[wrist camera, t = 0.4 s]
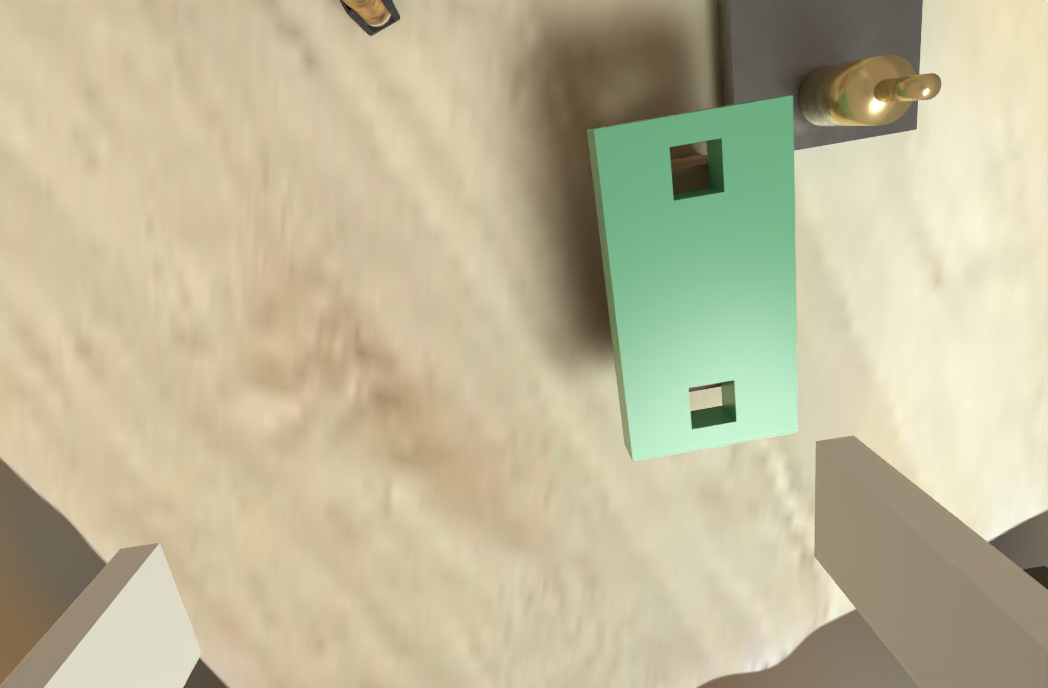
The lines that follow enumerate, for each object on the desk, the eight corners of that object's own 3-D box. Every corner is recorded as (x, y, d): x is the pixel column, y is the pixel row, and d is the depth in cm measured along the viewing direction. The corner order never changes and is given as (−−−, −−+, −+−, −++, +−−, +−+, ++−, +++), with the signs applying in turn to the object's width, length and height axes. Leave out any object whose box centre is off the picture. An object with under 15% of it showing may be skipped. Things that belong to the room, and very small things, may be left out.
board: (586, 129, 30) (593, 129, 28) (772, 97, 30) (792, 95, 28) (624, 443, 35) (632, 461, 33) (781, 416, 35) (798, 432, 33)
